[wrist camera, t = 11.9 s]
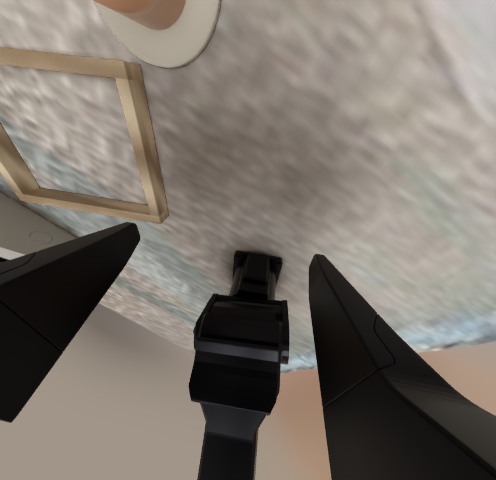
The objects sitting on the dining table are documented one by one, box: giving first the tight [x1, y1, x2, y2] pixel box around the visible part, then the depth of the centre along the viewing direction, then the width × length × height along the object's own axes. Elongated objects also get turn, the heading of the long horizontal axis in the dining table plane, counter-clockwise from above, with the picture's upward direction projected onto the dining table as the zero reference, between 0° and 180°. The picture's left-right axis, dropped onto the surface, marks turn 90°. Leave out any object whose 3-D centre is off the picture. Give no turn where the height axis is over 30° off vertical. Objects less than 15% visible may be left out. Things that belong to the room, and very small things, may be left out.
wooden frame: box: [0, 47, 169, 224], centre depth 19 cm, size 14×18×2 cm
